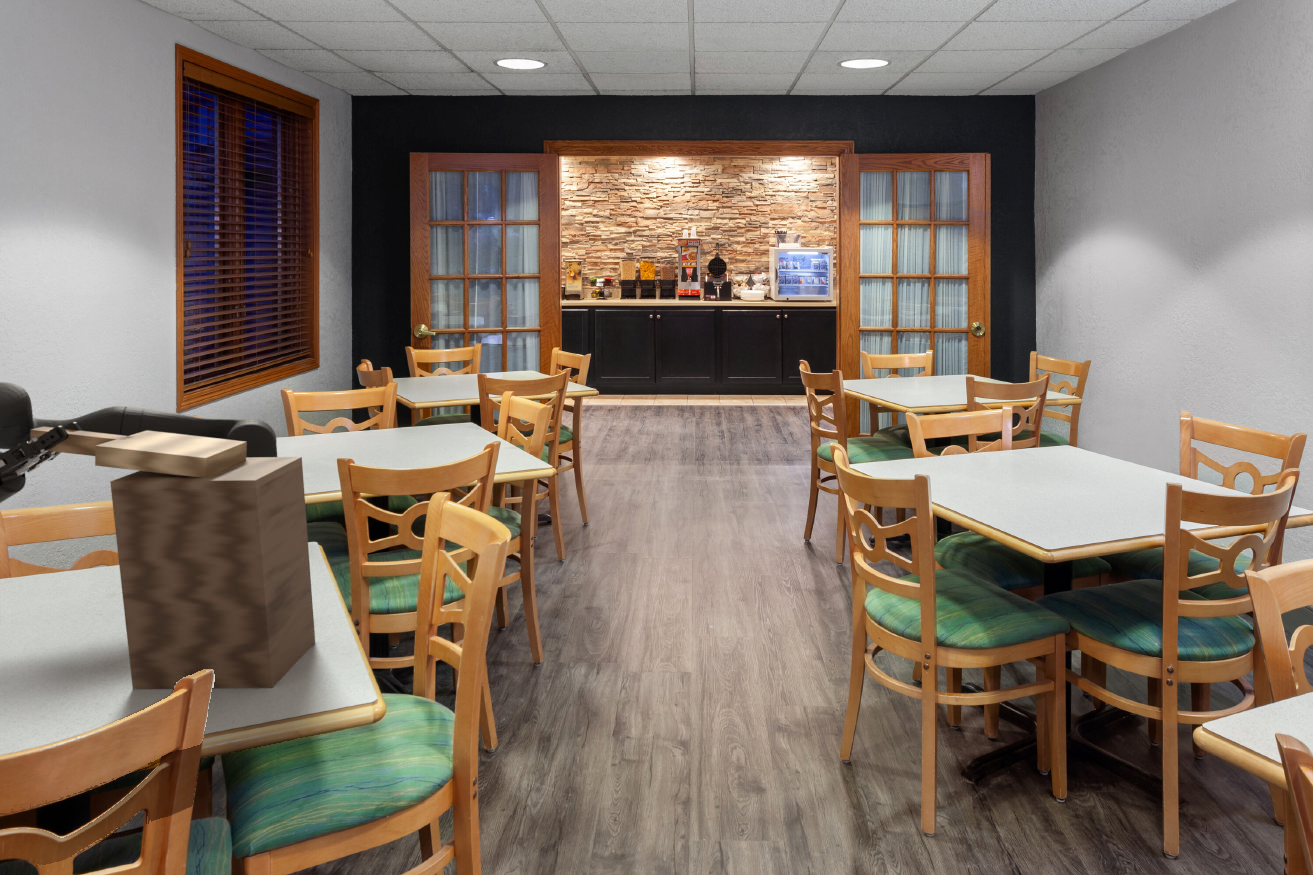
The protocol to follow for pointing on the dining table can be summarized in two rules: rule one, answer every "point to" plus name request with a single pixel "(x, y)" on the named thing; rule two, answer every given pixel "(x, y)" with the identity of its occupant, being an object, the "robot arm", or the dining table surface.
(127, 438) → the bread board
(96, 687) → the dining table surface
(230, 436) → the robot arm
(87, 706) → the dining table surface
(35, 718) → the dining table surface
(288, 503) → the cabinet
